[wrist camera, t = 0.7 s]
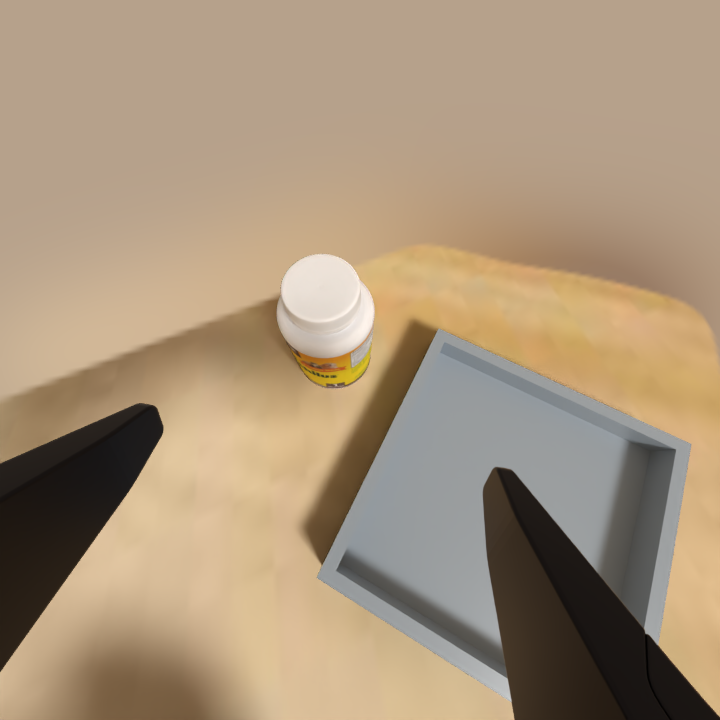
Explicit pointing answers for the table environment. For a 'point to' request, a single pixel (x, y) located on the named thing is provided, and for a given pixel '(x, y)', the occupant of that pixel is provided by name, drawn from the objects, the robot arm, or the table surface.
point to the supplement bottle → (327, 320)
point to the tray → (465, 501)
